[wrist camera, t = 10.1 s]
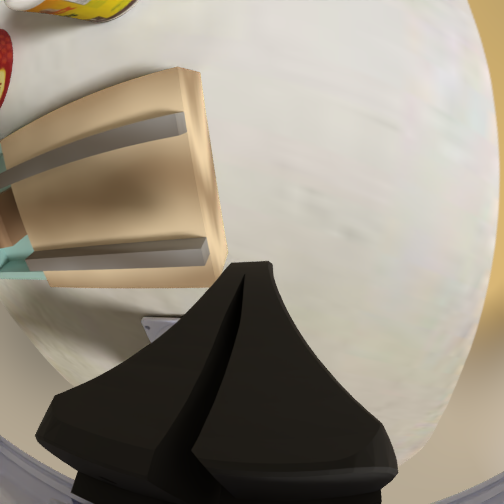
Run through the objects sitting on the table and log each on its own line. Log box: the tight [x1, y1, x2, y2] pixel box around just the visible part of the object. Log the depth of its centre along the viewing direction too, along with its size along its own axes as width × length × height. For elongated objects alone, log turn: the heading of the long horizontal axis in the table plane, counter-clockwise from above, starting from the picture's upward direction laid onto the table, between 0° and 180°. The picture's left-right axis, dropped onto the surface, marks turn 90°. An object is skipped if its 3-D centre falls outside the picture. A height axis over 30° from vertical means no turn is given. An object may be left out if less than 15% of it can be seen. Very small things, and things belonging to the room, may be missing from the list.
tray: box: [0, 143, 47, 280], centre depth 18 cm, size 12×11×3 cm
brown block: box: [0, 187, 27, 249], centre depth 17 cm, size 4×4×3 cm
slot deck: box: [0, 67, 228, 288], centre depth 16 cm, size 12×14×5 cm
